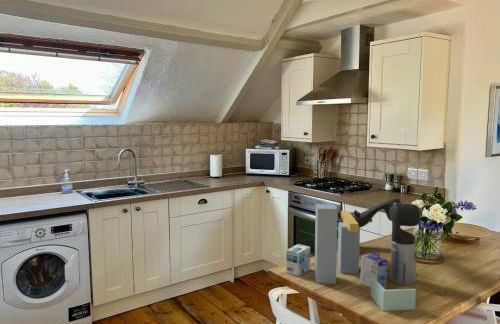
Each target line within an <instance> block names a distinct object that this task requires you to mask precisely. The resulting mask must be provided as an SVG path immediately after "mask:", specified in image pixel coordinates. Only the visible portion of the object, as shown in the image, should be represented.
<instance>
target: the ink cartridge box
mask: <svg viewBox="0 0 500 324" xmlns="http://www.w3.org/2000/svg"><path fill="white" fill-rule="evenodd" d="M375 253H377V254H375ZM360 260H361V262H360V276H359V277H360V280H359V283H361V284H363V285H365V286H368V287H369V288H371V277H374V278H375V279H376V280H377V281H378V282H379V283H380V284H381V285H382V287H383V288H384V289H385V290H387V279H388V278H387V277H388V274H387V273H388V259H386V258H383V257H381V252H380V251H378V250H376V249H373V251H372V253H371V252H370V253H364V254H362V255H361V259H360Z"/></svg>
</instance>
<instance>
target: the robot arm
mask: <svg viewBox="0 0 500 324" xmlns="http://www.w3.org/2000/svg"><path fill="white" fill-rule="evenodd" d="M395 202H396V204H394V205H393V203H395ZM382 210H384V212H385V215H386V217H387V220H388V221H390V222H391V242H390V243H391V245H390V246H391V247H390V272H389V275H390V277H389V280H390V281H391V282H393V283H394V284H398V285H401V286H404V287H405V286H409V285H412V284H416V275H417V274H416V273H417V261H416V260H415V252H416V251H415V250H416V237H415V235H414V234H413V233H412V232H409V231H406V230H404V229H402V228H401V227H416V226H418V225H419V223H420V222H421V218H422V214H421V210H420V207H419V206H418V205H417V204H414V203H403V202H402V201H401V199H400V198H398V197H397V198H396V197H394V198H391V199H388V200H386V201H383V202H381V203H379V204H377V205H374V206H373V207H371V208H369V209H366V210H365V211H363V212H359V211H358V210H357V209H356V210H354V211H353V212H352V211H349V212H350V214H351V215H352V216H353V218H354V219H355V220H356V221H357V223H358V225H359V227H360V229H361V228H363V227H365V226H367V225H368V224H369V222H371V220H372V219H373V218H374V217H375V216H376V214H378V213H379V212H380V211H382ZM339 222H343V221H342V219H341V211H338V212H337V240H338V225H339Z"/></svg>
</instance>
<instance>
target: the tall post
mask: <svg viewBox="0 0 500 324" xmlns="http://www.w3.org/2000/svg"><path fill="white" fill-rule="evenodd" d="M337 212H339V210H338V206H336V205H335V204H333V203H331V204H327V203H326V204H325V203H324V204H323V203H322V204H319V203H318V204H317V203H315V217H314V218H315V224H314V225H315V228H314V229H315V230H314V231H315V232H314V278H315V282H316V284H328V285H329V284H331V285H332V284H335V285H336V284H337V258H338V239H337Z"/></svg>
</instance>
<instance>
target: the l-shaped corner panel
mask: <svg viewBox="0 0 500 324" xmlns="http://www.w3.org/2000/svg"><path fill="white" fill-rule="evenodd" d="M416 292H417V289H416V288H398V289H397V288H396V289H395V288H394V289H393V288H392V289H384V288H383V287H382V285H381V284H380V283H379V282H378V281H377V280H376V279H375V278H374V277H371V287H370V297H371V298H372V299H373V300H374V301H375V303H376V304H377V306H379V308H380V310H382V311H383V312H384V311H387V312H388V311H409V310H416V296H417V295H416V294H417V293H416Z"/></svg>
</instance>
